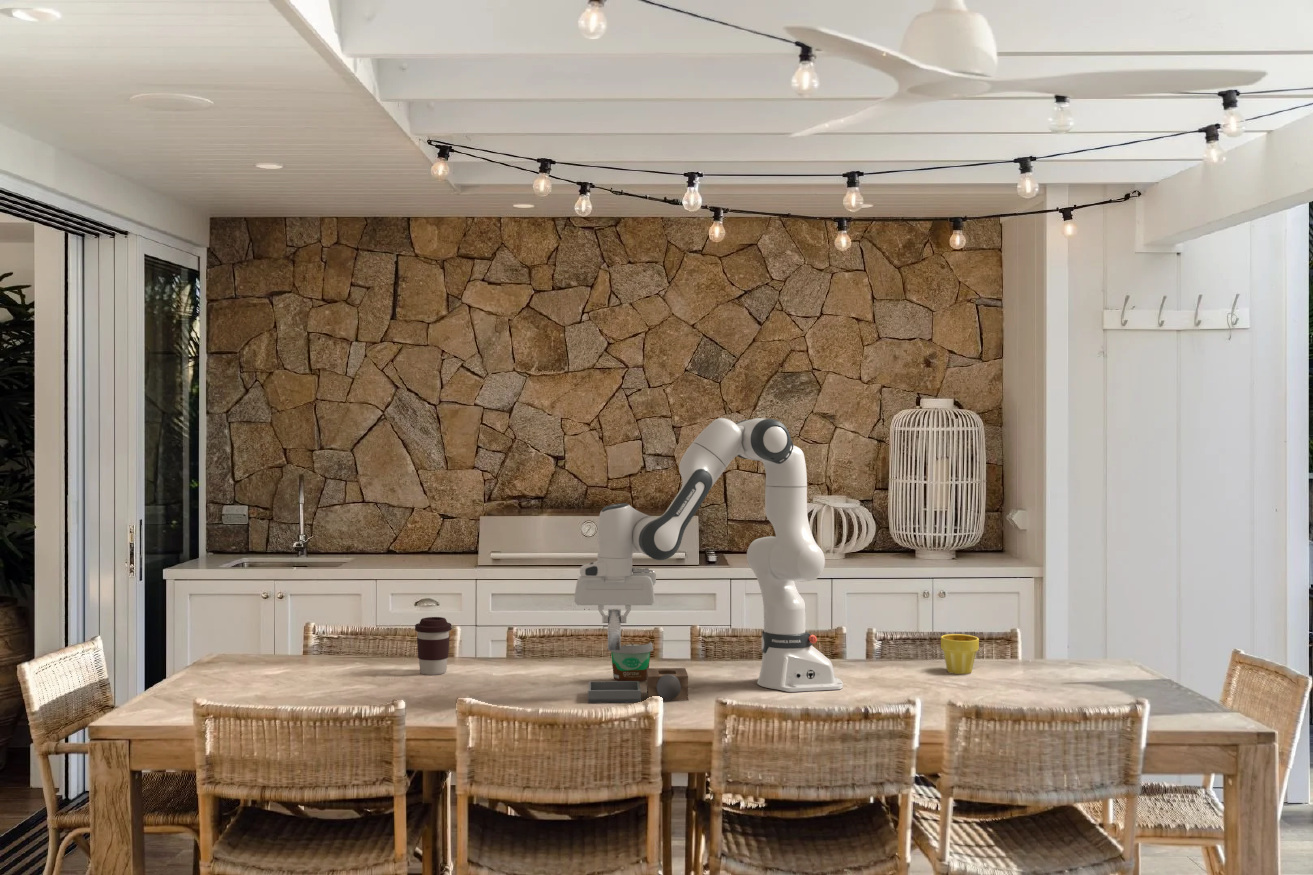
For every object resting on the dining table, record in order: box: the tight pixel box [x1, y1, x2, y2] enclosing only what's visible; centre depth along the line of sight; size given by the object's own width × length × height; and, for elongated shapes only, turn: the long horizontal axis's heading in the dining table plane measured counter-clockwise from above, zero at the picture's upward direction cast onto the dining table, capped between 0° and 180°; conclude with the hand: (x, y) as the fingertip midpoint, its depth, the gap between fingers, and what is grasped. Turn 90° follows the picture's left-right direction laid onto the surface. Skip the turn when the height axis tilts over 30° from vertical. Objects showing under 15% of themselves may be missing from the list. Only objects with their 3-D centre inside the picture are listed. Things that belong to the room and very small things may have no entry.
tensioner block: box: [646, 667, 689, 701], centre depth 305 cm, size 10×12×6 cm
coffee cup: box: [414, 616, 453, 676], centre depth 333 cm, size 10×10×15 cm
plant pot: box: [940, 633, 980, 675], centre depth 338 cm, size 10×10×10 cm
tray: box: [587, 680, 642, 704], centre depth 304 cm, size 13×11×3 cm
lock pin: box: [607, 608, 622, 651], centre depth 303 cm, size 3×3×10 cm
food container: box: [608, 640, 654, 683], centre depth 324 cm, size 12×6×10 cm, turn 105°
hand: (614, 622), depth 303 cm, fingers closed on lock pin, 3 cm apart
